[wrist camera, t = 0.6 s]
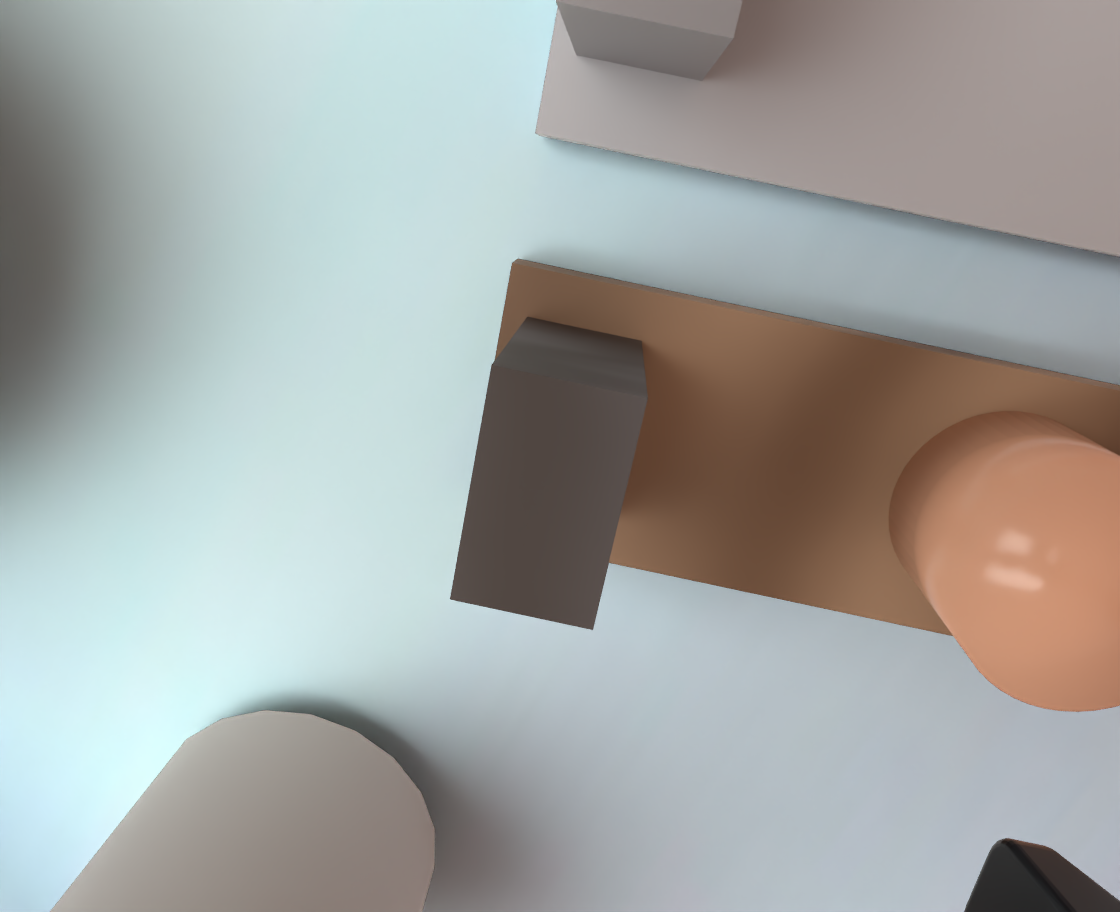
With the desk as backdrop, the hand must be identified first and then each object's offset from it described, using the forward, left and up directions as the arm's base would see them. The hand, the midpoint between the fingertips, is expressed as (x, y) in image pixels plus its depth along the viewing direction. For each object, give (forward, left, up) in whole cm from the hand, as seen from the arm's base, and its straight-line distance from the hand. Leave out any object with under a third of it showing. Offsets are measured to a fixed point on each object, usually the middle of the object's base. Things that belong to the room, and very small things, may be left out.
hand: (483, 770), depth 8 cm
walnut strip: (-6, 0, -12) cm, 14 cm away
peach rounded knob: (-9, 0, -11) cm, 15 cm away
